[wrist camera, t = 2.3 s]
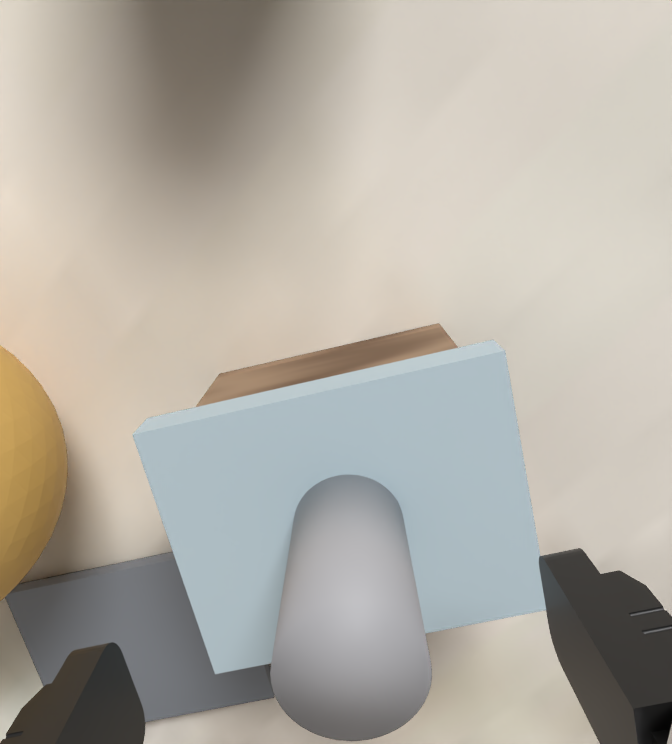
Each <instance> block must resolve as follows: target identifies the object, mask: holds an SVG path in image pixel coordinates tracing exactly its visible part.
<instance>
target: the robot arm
mask: <svg viewBox="0 0 672 744" xmlns="http://www.w3.org/2000/svg"><path fill="white" fill-rule="evenodd" d="M539 569H540V575H541V581H542V587H543V593H544V599H545V606H546V612H547V618H548V624H549V629H550V634H551V638H552V641H553V645H554V648H555V651H556V654H557V657H558V659H559V662H560V664H561V666H562V668H563V670H564V672H565V674H566V676H567V678H568V680H569V682H570V684H571V686H572V688H573V690H574V692H575V694H576V696H577V698H578V700H579V702H580V704H581V706H582V708H583V710H584V712H585V714H586V716H587V718H588V720H589V722H590V724H591V726H592V729H593V731H594V733H595V735H596V737H597V739H598V741H599V743H600V744H672V617H671V615H670V614H669V613H668V612H667V611H665V610H664V608H663V606H662V605H661V603H660V602H659V601H658V600H657V598H656V597H655V596H654V595H653V594H652V592H651V591H650V590H649V589H648V588H647V586H646V585H644V584H642V583H640V582H639V581H637V580H635V579H634V578H632V577H630V576H628V575H627V574H625V573H623V572H621V571H620V570H619V571H614V572H609V573H604V574H600V573H599V572H598V570H597V569H596V567H595V566H594V565H593V563H592V562H591V561H590V559H589V558H588V556H587V555H586V554H585V552H584V551H583V550H582V549H580V548H578V549H573V550H568V551H564V552H559V553H554V554H549V555H544V556H540V557H539ZM144 735H145V716H144V711H143V707H142V704H141V701H140V698H139V696H138V693H137V691H136V688H135V685H134V683H133V680H132V677H131V675H130V672H129V669H128V667H127V664H126V661H125V659H124V656H123V653H122V651H121V649H120V647H119V646H118V645H117V644H116V643H114V642H111V643H106V644H101V645H96V646H91V647H86V648H82V649H77V650H73V651H72V652H71V653H70V654H69V655H68V657H67V658H66V660H65V662H64V664H63V665H62V667H61V669H60V670H59V672H58V674H57V675H56V677H55V679H54V680H53V682H52V683H51V684H46V685H45V686H44V687H43V688H42V689H41V690H40V691H39V692H38V693H37V694H36V695H35V696H34V697H33V698H32V699H31V700H30V701H29V702H28V703H27V704H26V705H25V706H24V707H23V708H22V709H21V711H20V712H19V714H18V716H17V717H16V719H15V720H14V722H13V724H12V725H11V727H10V728H9V730H8V732H7V733H6V739H3V740H2V741H1V743H0V744H143V741H144Z"/></svg>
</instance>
